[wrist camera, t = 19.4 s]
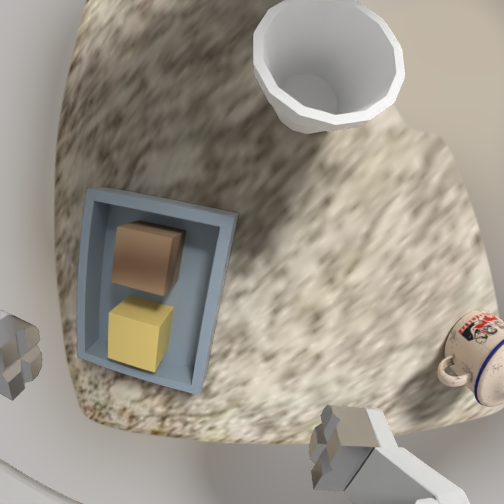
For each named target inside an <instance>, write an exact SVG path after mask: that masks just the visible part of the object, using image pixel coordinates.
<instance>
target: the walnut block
mask: <svg viewBox="0 0 504 504" xmlns="http://www.w3.org/2000/svg"><path fill="white" fill-rule="evenodd" d="M185 236H186V230H183V229H178V228H174V227H169V226H165V225H160V224H155V223H150V222H146V221H141V220H137V221H133V222H130V223H127V224H123V225H120V226H117V232H116V240H115V249H114V258H113V268H112V279H111V282H113V283H116V284H120V285H124V286H127V287H131V288H135V289H138V290H142V291H146V292H150V293H154V294H158V295H161V296H164V295H165V294H166V293H167V291H168V290H169V289H170V288H171V287H172V286H173V285H174V284H175V283H176V282H177V280H178V278H179V271H180V265H181V259H182V253H183V247H184V241H185Z"/></svg>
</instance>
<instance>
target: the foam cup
mask: <svg viewBox="0 0 504 504" xmlns="http://www.w3.org/2000/svg"><path fill="white" fill-rule="evenodd" d="M253 65H254V75H255V78H256V79H257V81H258V83H259V85H260V87H261V89H262V90H263V92H264V94H265V96H266V98H267V100H268V102H269V103H270V104H271V105H272V106H273V108H274V110H275V112H276V114H277V116H278V118H279V119H280V121H281V122H282V123H283V124H285V125H286V126H287V127H288V128H290V129H291V130H292V131H296V132H300V133H304V134H311V133H316V132H322V131H327V132H329V131H335V130H341V129H348V128H355V127H359V126H361V125H363V124H364V123H366V122H368V121H369V120H371V119H372V118H373V117H375V116H376V115H378V114H379V113H380V112H382V111H383V110H384V109H386V108H387V107H389V106H390V105H391V104H393V103H394V102H395V99H396V97H397V95H398V92H399V90H400V88H401V85H402V83H403V80H404V78H405V71H404V62H403V54H402V48H401V46H400V44H399V42H398V41H397V39H396V37H395V36H394V34H393V33H392V31H391V30H390V28H389V26H388V25H387V23H386V22H385V21H384V20H383V19H382V18H381V17H379V16H378V15H377V14H375V13H374V12H372V11H371V10H370V9H368V8H367V7H366V6H364V5H363V4H361V3H360V2H359V1H355V0H284V1H282V2H280V3H278V4H277V5H275V6H273V7H271V8H270V9H268V11H267V12H266V14H265V15H264V17H263V19H262V20H261V22H260V23H259V25H258V27H257V28H256V30H255V32H254V33H253Z"/></svg>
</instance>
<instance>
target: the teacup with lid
mask: <svg viewBox="0 0 504 504" xmlns="http://www.w3.org/2000/svg"><path fill="white" fill-rule="evenodd" d="M447 367H450V368H451V369H452V370H453V371H454V372H455V373H456V374H457V376H450V375H448V374H446V373H445V371H444V369H445V368H447ZM437 374H438V378H439V380H440V381H441V382H442V383H443V384H444V385H446V386H450V387H459V386H463V385H465V384H466V386H467V387H468V388H469V389H470V390H471V391H472V392H473V393H474V395H475V398H476V400H477V401H478V402H479V403H480V404H481V405H484V406H488V407H493V406H497V405H500V404H502V403H504V321H503V320H501V319H500V318H498V317H496V316H495V315H493V314H492V313H490V312H489V311H487V310H483V309H479V310H474V311H471V312H469V313H468V314H466V315H465V316H463V317H462V318H461V319H460V320H459V321H458V322H457V323H456V325H455V326H454V327H453V329H452V330H451V332H450V334H449V336H448V339H447V341H446V345H445V359H443V360H442V361H441V362H440V364H439V366H438V372H437Z"/></svg>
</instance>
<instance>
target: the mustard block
mask: <svg viewBox="0 0 504 504" xmlns="http://www.w3.org/2000/svg"><path fill="white" fill-rule="evenodd" d="M173 311H174V307H172V306H168V305H164V304H160V303H156V302H152V301H149V300H145V299H141V298H137V297H134V296H130V295H129V296H128V297H127V298H126V299H124V300H123V301H122V302H121V303H120V304H118V305H117V306H116V307H115V308H114V309H113V310H111V311H110V312H109V326H108V358H110V359H113V360H116V361H119V362H122V363H125V364H129V365H132V366H135V367H138V368H141V369H145V370H148V371H151V372H155V371H156V370H157V368H158V366H159V364H160V363H161V361H162V359H163V357H164V356H165V354H166V352H167V350H168V349H169V341H170V333H171V325H172V318H173Z"/></svg>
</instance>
